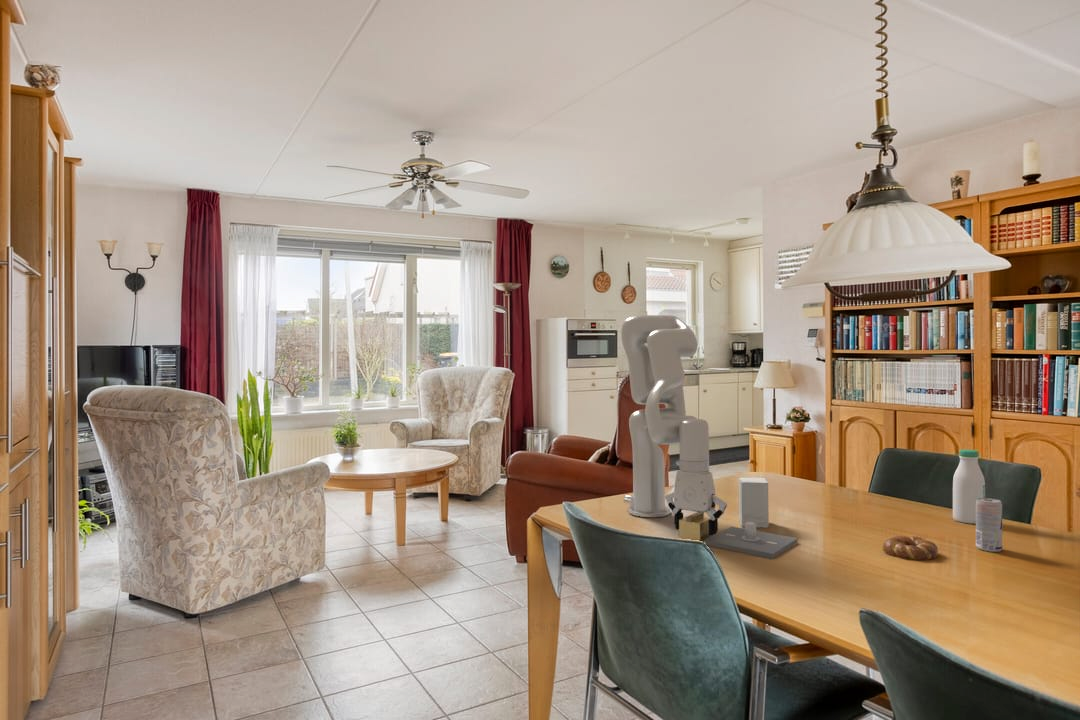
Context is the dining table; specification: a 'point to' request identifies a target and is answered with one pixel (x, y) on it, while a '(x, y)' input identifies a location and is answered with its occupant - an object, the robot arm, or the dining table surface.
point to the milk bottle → (967, 487)
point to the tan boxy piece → (694, 527)
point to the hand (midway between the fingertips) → (695, 531)
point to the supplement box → (753, 501)
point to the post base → (751, 541)
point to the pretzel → (910, 548)
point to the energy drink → (989, 524)
